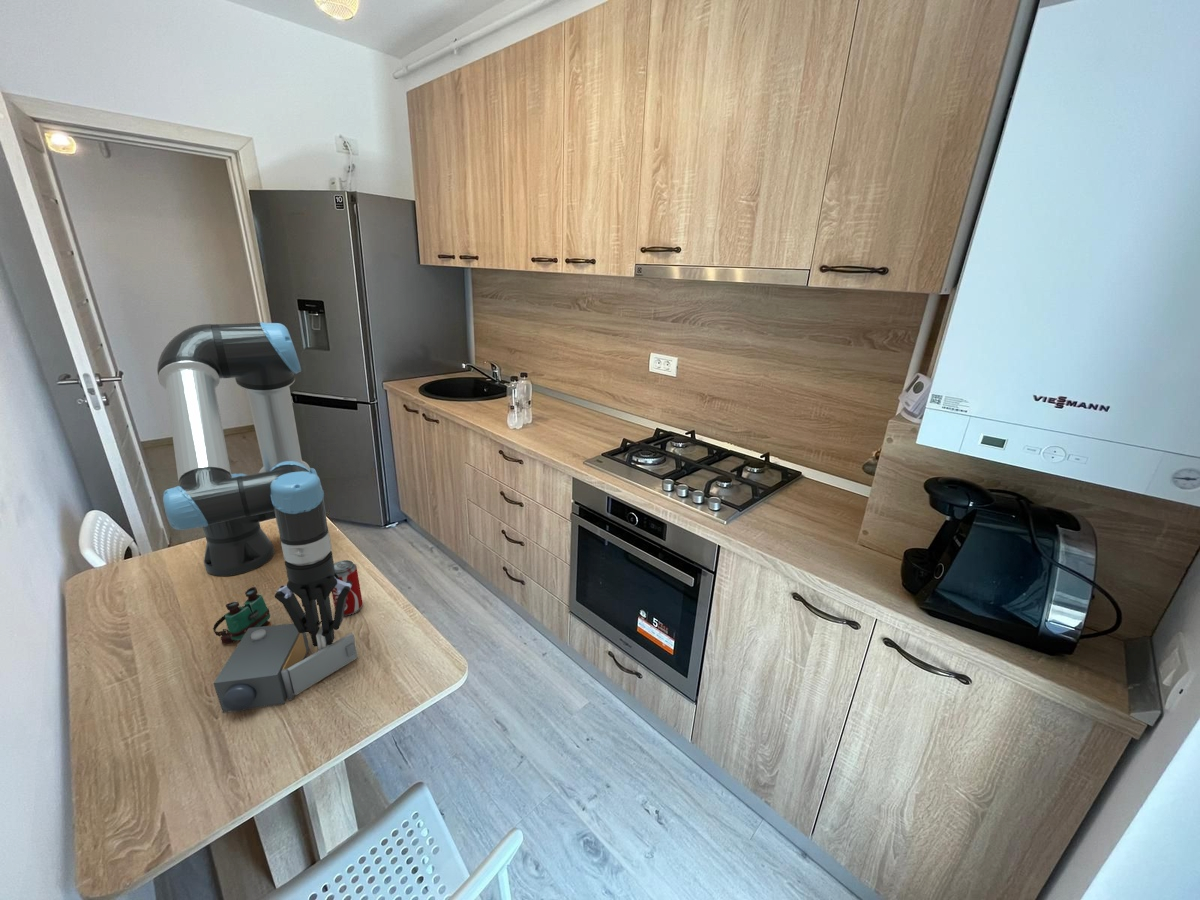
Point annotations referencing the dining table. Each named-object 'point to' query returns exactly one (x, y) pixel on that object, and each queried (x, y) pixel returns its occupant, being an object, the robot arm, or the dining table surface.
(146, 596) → the dining table surface
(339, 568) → the beverage can
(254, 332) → the robot arm
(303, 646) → the camera body
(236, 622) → the binoculars
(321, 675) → the side door
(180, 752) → the dining table surface
